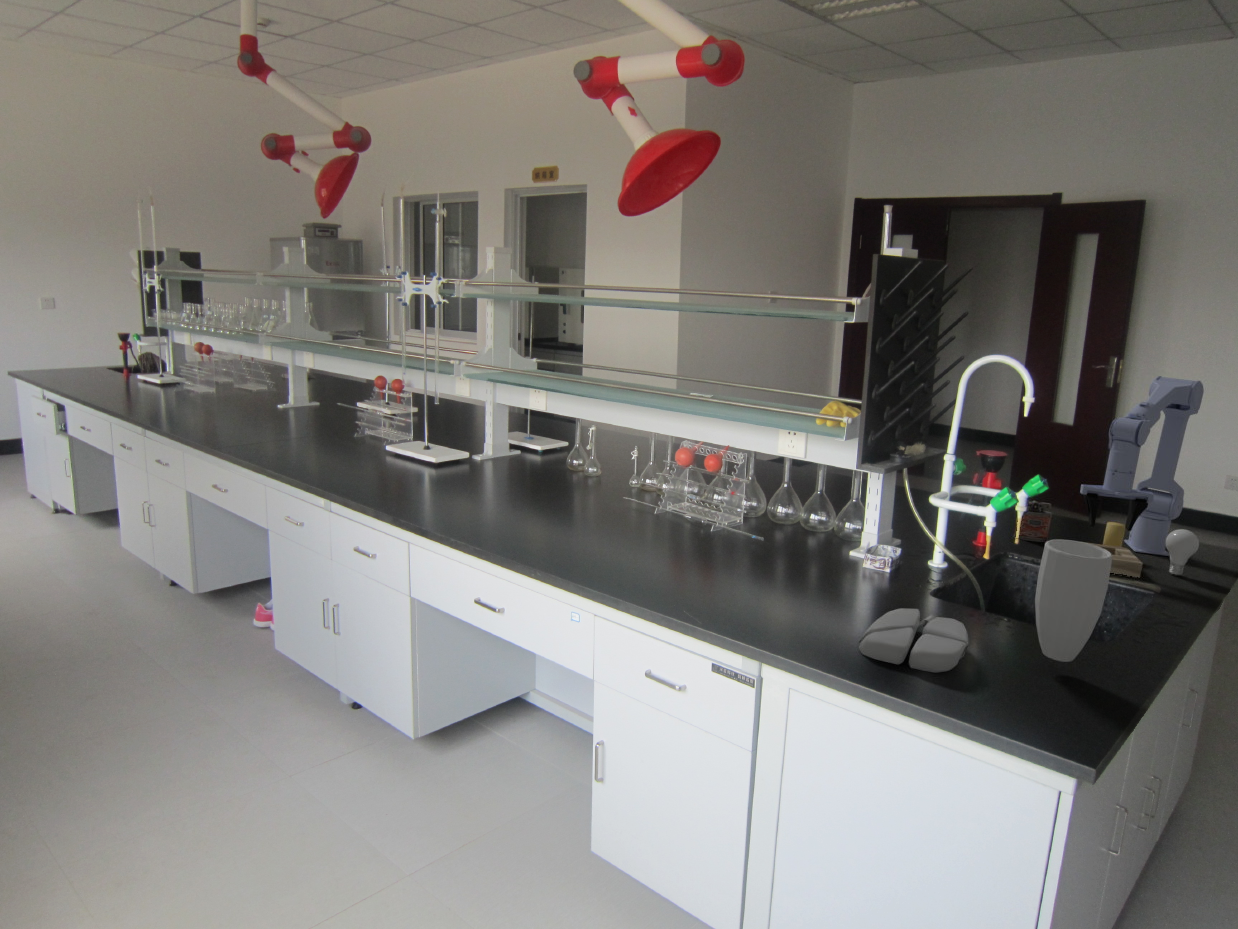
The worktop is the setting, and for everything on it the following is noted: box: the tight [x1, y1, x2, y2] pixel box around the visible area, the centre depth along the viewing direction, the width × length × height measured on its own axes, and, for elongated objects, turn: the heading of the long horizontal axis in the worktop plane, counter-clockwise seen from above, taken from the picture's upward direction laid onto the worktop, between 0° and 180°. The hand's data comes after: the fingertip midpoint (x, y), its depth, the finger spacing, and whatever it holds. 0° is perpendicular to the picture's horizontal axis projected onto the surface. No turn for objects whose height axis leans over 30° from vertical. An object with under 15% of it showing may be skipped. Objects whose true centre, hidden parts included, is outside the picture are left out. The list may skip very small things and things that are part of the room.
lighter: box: [1013, 500, 1054, 543], centre depth 212 cm, size 8×3×10 cm, turn 76°
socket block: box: [1082, 541, 1144, 579], centre depth 194 cm, size 12×12×4 cm
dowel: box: [1102, 521, 1126, 547], centre depth 202 cm, size 4×4×8 cm
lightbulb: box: [1165, 528, 1200, 577], centre depth 190 cm, size 6×6×11 cm
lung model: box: [858, 607, 970, 673], centre depth 145 cm, size 7×17×25 cm
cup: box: [1034, 539, 1112, 663], centre depth 134 cm, size 10×10×22 cm
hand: (1109, 527), depth 191 cm, fingers open, 7 cm apart
